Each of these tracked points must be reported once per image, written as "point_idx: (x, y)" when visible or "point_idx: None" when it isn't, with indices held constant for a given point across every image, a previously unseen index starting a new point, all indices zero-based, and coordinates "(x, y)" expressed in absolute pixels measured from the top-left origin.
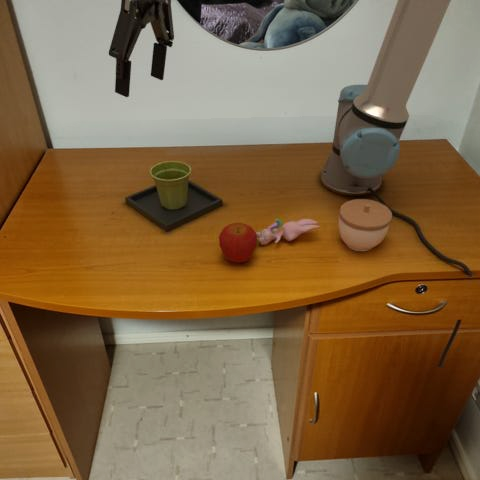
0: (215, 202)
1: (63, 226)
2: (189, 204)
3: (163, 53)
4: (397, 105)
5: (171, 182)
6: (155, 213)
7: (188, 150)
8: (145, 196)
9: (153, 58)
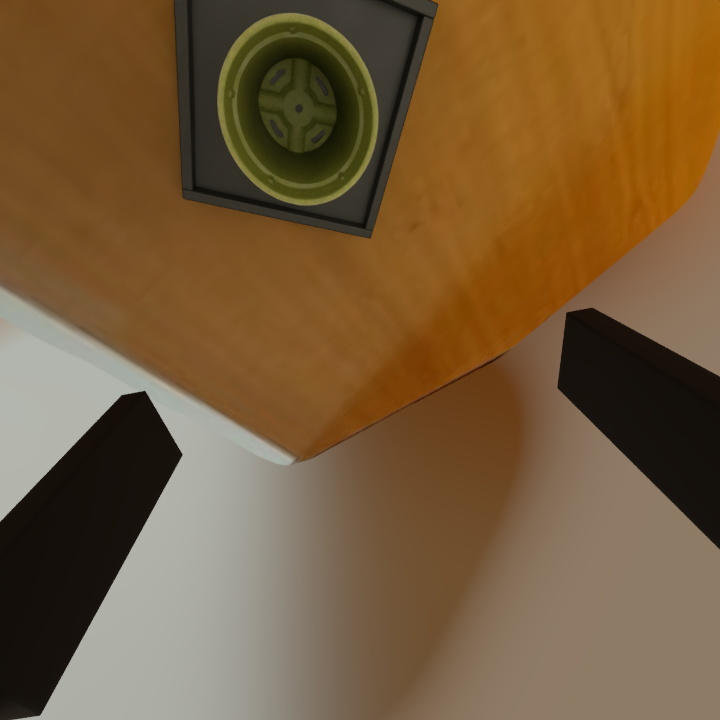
0: None
1: (493, 271)
2: None
3: (4, 573)
4: None
5: (353, 63)
6: None
7: (52, 293)
8: (319, 213)
9: (120, 551)
